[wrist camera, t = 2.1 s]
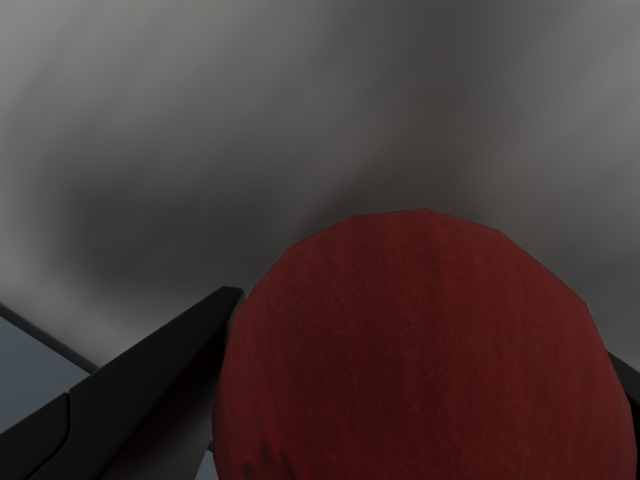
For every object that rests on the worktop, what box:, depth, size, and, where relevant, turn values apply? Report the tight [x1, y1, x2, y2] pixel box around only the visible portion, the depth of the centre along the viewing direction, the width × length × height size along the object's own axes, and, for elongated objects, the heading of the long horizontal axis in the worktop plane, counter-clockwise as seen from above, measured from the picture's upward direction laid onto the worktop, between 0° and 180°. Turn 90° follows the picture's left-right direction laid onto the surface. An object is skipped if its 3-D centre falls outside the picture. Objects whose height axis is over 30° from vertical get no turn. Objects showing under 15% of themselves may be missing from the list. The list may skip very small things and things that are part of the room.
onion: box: [212, 208, 638, 480], centre depth 6 cm, size 6×6×8 cm
